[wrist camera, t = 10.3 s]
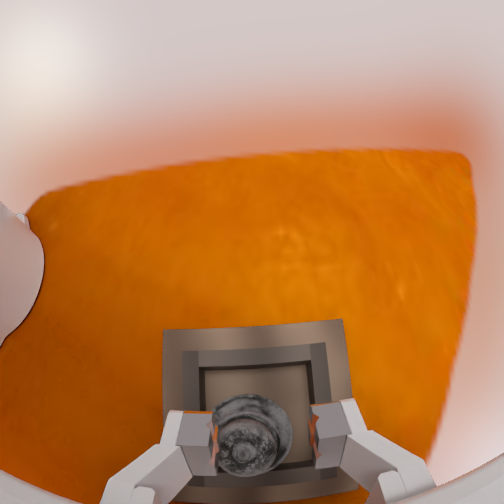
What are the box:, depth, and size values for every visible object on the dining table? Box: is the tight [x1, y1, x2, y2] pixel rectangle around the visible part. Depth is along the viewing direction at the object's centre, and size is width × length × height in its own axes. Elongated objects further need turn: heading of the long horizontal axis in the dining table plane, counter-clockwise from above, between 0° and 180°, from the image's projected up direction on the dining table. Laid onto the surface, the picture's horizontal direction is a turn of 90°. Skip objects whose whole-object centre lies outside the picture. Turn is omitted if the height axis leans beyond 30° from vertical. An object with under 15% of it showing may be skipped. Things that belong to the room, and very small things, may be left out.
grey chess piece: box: [212, 394, 293, 477], centre depth 15 cm, size 6×6×12 cm
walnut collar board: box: [162, 319, 359, 504], centre depth 20 cm, size 15×15×4 cm
